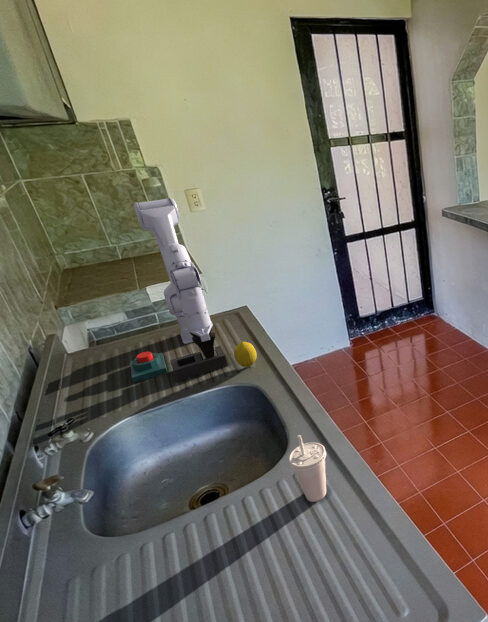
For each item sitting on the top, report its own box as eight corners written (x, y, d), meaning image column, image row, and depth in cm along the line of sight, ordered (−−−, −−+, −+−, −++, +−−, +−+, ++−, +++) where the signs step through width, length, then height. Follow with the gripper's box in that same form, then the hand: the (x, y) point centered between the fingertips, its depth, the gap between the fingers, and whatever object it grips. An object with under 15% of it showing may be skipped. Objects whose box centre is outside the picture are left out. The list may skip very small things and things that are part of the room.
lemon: (262, 361, 130) (256, 337, 127) (253, 372, 125) (246, 347, 122) (244, 361, 131) (238, 337, 127) (234, 371, 126) (227, 346, 122)
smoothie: (296, 487, 87) (282, 429, 81) (330, 476, 89) (318, 419, 83) (300, 512, 81) (284, 452, 75) (336, 500, 84) (324, 440, 78)
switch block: (131, 366, 131) (127, 355, 129) (163, 357, 135) (160, 347, 133) (133, 383, 123) (129, 372, 121) (167, 372, 127) (163, 362, 125)
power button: (138, 359, 128) (135, 354, 127) (152, 355, 130) (150, 350, 129) (138, 364, 125) (136, 359, 124) (153, 360, 127) (151, 355, 126)
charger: (203, 359, 129) (196, 337, 126) (216, 355, 131) (209, 334, 128) (205, 364, 127) (198, 342, 124) (218, 360, 129) (211, 338, 126)
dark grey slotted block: (173, 370, 128) (170, 360, 126) (223, 355, 134) (220, 345, 133) (177, 382, 122) (173, 371, 121) (228, 365, 129) (225, 355, 127)
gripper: (175, 306, 126) (189, 348, 132) (182, 323, 115) (197, 369, 121) (203, 299, 129) (215, 341, 135) (212, 316, 119) (225, 360, 124)
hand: (208, 354), depth 128 cm, fingers closed on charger, 3 cm apart
